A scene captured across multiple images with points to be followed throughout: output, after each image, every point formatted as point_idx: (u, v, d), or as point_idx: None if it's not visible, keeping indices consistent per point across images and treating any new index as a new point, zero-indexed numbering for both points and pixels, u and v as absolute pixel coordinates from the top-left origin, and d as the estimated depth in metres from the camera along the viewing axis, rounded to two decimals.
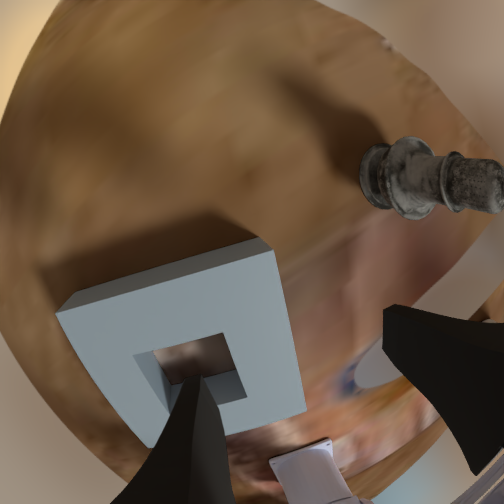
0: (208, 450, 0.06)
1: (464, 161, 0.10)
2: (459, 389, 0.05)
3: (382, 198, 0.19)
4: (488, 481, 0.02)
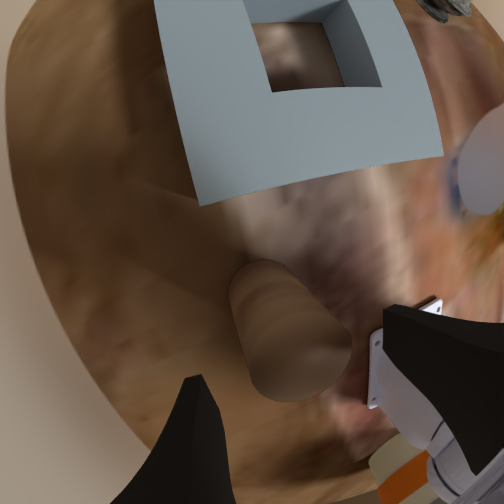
0: (208, 450, 0.06)
1: None
2: (459, 389, 0.05)
3: (432, 9, 0.12)
4: (487, 481, 0.02)
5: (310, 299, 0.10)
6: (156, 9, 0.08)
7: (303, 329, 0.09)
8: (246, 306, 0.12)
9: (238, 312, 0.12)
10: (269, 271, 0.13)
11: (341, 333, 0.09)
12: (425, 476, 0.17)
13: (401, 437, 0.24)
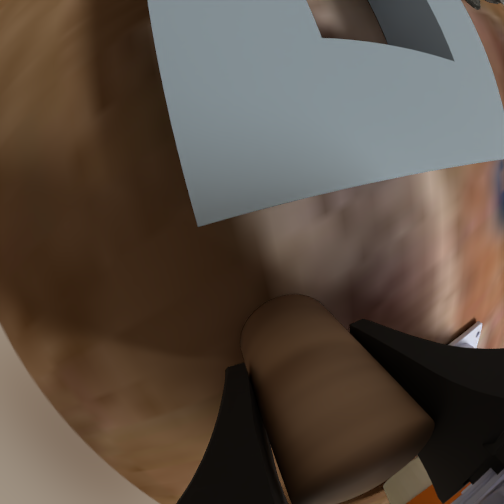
0: (262, 437, 0.06)
1: None
2: None
3: None
4: (488, 482, 0.02)
5: (382, 378, 0.06)
6: None
7: (382, 443, 0.04)
8: (276, 384, 0.07)
9: (262, 388, 0.07)
10: (306, 321, 0.08)
11: (426, 428, 0.04)
12: (445, 502, 0.12)
13: (419, 461, 0.20)
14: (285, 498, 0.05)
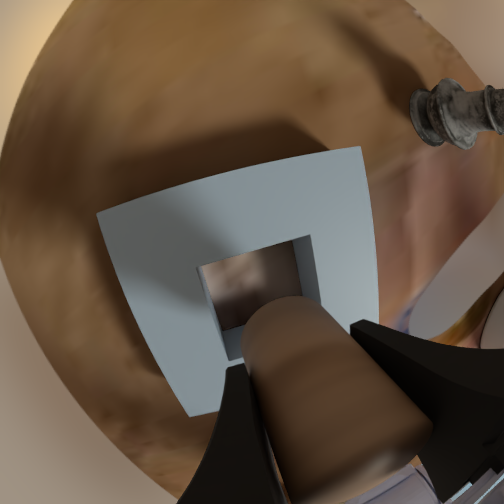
0: (262, 437, 0.06)
1: (501, 89, 0.09)
2: None
3: (430, 134, 0.17)
4: (488, 481, 0.02)
5: (384, 381, 0.06)
6: (124, 292, 0.13)
7: (384, 443, 0.04)
8: (278, 384, 0.07)
9: (264, 388, 0.07)
10: (308, 322, 0.08)
11: (425, 430, 0.04)
12: None
13: None
14: (285, 498, 0.05)
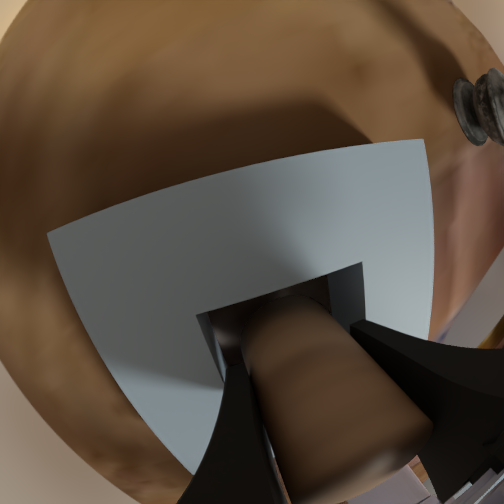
0: (262, 437, 0.06)
1: None
2: None
3: (474, 131, 0.12)
4: (488, 481, 0.02)
5: (384, 380, 0.06)
6: (95, 345, 0.08)
7: (384, 443, 0.04)
8: (279, 384, 0.07)
9: (264, 388, 0.07)
10: (309, 322, 0.08)
11: (425, 430, 0.04)
12: None
13: None
14: (285, 498, 0.05)
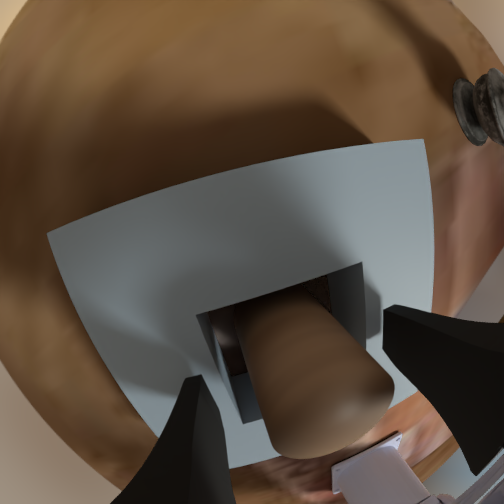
0: (208, 450, 0.06)
1: None
2: (459, 389, 0.05)
3: (474, 131, 0.12)
4: (488, 481, 0.02)
5: (347, 339, 0.08)
6: (95, 345, 0.08)
7: (344, 385, 0.06)
8: (262, 343, 0.09)
9: (250, 348, 0.09)
10: (289, 296, 0.10)
11: (386, 384, 0.06)
12: None
13: None
14: None
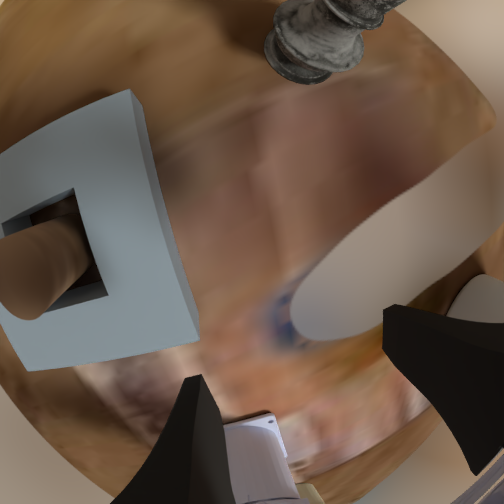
0: (208, 450, 0.06)
1: None
2: (459, 389, 0.05)
3: (294, 69, 0.15)
4: (488, 482, 0.02)
5: (37, 231, 0.10)
6: None
7: (7, 246, 0.08)
8: None
9: None
10: (54, 219, 0.13)
11: (32, 256, 0.08)
12: None
13: None
14: None
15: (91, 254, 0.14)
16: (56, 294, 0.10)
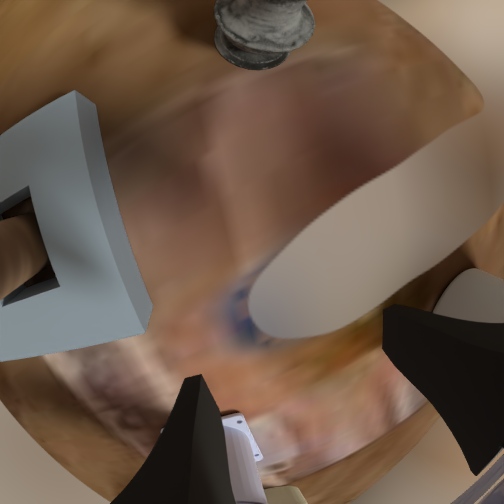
0: (208, 450, 0.06)
1: None
2: (459, 389, 0.05)
3: (244, 55, 0.14)
4: (487, 481, 0.02)
5: None
6: None
7: None
8: None
9: None
10: (17, 216, 0.12)
11: None
12: None
13: None
14: None
15: None
16: (10, 283, 0.09)
